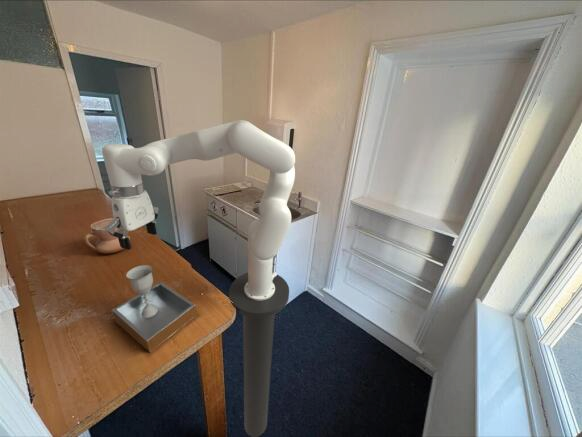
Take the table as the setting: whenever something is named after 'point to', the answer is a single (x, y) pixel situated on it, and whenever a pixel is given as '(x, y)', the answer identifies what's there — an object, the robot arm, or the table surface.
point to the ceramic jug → (104, 238)
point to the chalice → (143, 286)
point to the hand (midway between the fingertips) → (140, 240)
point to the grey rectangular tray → (155, 316)
